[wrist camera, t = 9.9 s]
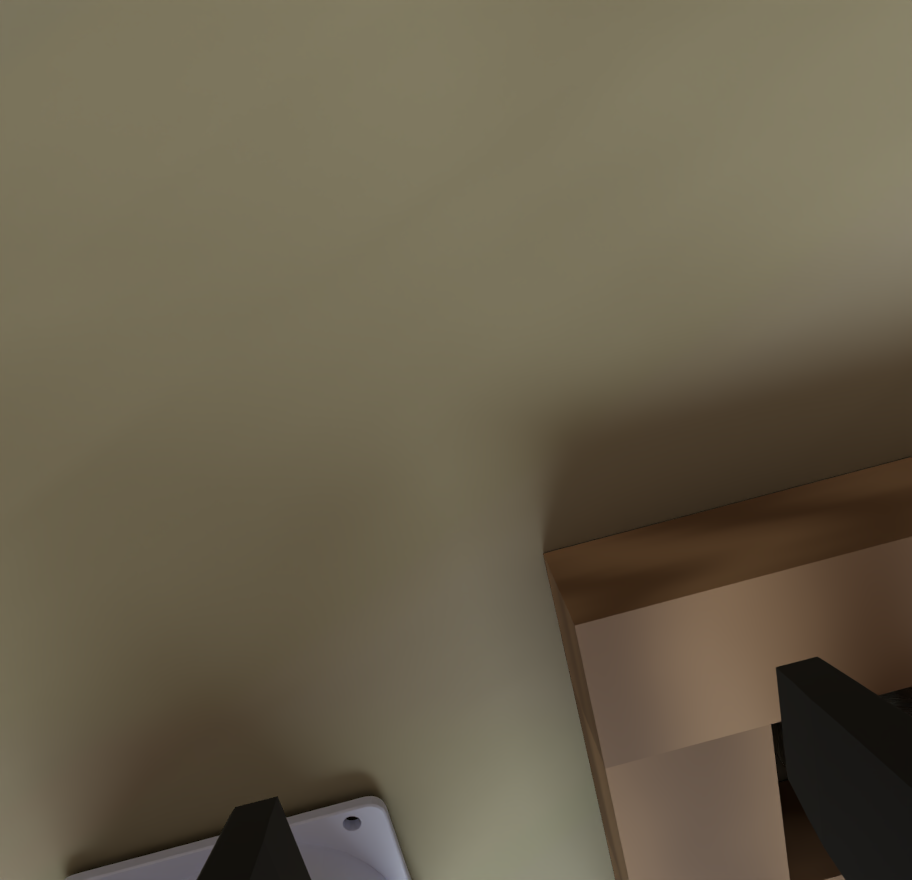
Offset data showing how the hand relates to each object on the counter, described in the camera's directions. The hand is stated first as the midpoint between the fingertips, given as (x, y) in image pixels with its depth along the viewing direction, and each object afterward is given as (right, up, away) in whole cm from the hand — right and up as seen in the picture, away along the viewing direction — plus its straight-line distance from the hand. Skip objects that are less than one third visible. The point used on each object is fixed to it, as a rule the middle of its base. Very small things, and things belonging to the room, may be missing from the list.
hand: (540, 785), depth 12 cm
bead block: (+9, -3, +13) cm, 17 cm away
